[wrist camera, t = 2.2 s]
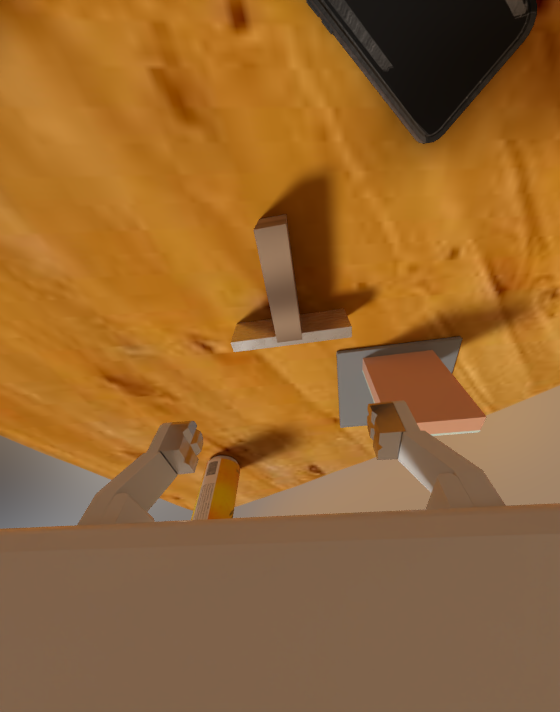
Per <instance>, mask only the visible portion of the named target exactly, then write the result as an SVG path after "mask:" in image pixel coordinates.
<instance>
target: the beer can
mask: <svg viewBox="0 0 560 712" xmlns="http://www.w3.org/2000/svg"><path fill="white" fill-rule="evenodd" d="M239 474H240V466H239V465H238V463H237V461H236V460H235V459H233V458H232V457H229V456H215V457H213V458H212V459H211V460H210V461H208V462H207V464H206V467H205V471H204V474H203V478H202V482H201V485H200V489H199V493H198V496H197V500H196V504H195V507H194V511H193V515H192V518H191V520H207V519H229V518H233V512H234V506H235V499H236V493H237V487H238V480H239Z"/></svg>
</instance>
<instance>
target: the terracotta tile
mask: <svg viewBox="0 0 560 712" xmlns="http://www.w3.org/2000/svg"><path fill="white" fill-rule="evenodd" d="M362 372H363V374H364V377H365V380H366V382H367V385H368V388H369V390H370V393H371V396H372V398H373V401H374V403H381V402H392V401H402V400H404V401H405V402H406V404H407V405H408V407H409V409H410V411H411V413H412V415H413V417H414V419H415V421H416V423H417V425H418V427H419V428H420V430H421V431H426V432H427V433H429V434H430V435H432V436H438V435H450V434H462V433H475V432H480V430H481V428H482V425H483V424H484V421H485V419H486V416H485V414H484V413H483V412H482V411H481V409H480V408H479V407H478V406H477V404H476V403H475V402H474V401H473V399H472V398H471V397H470V396H469V395H468V393H467V392H466V391H465V390H464V388H463V387H462V386H461V385H460V383H459V382H458V381H457V380H456V378H455V377H454V376H453V375H452V373H451V372H450V371H449V370H448V368H447V367H446V366H445V365H444V363H443V362H442V361H441V360H440V358H439V357H438V356H437V355H436V353H435V352H434V351H433V350H427V351H419V352H410V353H402V354H393V355H385V356H376V357H368V358H363V367H362Z"/></svg>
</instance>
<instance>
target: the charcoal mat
mask: <svg viewBox="0 0 560 712" xmlns="http://www.w3.org/2000/svg"><path fill="white" fill-rule="evenodd" d="M461 341H462V338H461V337H460V336H459V337H451V338H442V339H434V340H426V341H418V342H410V343H401V344H393V345H385V346H377V347H369V348H361V349H352V350H344V351H337V370H338V391H339V413H340V427H341V428H342V427H353V426H365V425H367V416H368V415H369V413H368V410H367V407H368V404H372V403H374V401H373V398H372V396H371V393H370V390H369V388H368V385H367V382H366V380H365V377H364V374H363V372H362V367H363V358H368V357H376V356H385V355H393V354H402V353H410V352H419V351H427V350H433V351H434V352H435V353H436V355H437V356H438V357H439V358H440V360H441V361H442V362H443V363H444V365H445V366H446V367H447V368H448V370H449V371H450V372H451V373H452V371H453V368H454V365H455V361H456V358H457V355H458V351H459V348H460V345H461Z"/></svg>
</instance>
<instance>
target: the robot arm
mask: <svg viewBox="0 0 560 712" xmlns="http://www.w3.org/2000/svg"><path fill="white" fill-rule="evenodd" d="M367 410H368V413H369V415H368V416H367V426H368V431H369V435H370V438H372V439H373V448H374V451H375V454H376V457H377V460H386V459H398V460H399V462H400V463H401V464H402V465H404V466H405V467H406V468H407V469H408V470H409V471H410V472H411V473H412V474H413V475H414V476H415V477H416V478H417V479H418V480H419V481H420V482H421V483H422V484H423V485H424V486H425V487H426V488H427V489H428V490H429V491H430V492H431V496H430V499H429V501H428V504H427V507H426V509H425V510H404V511H382V512H363V513H362V512H360V513H338V514H316V515H296V516H295V515H294V516H272V517H251V518H229V519H207V520H186V521H164V522H154V518H153V517H152V516H151V515H149V514H148V513H147V512H148V510H149V509H150V508H151V507H152V505H153V504H154V503H155V502H156V501H157V499H158V498H159V497H160V496H161V495H162V493H163V492H164V491H165V490H166V489H167V487H168V486H169V485H170V484H171V483H172V481H173V480H174V479H175V478H176V477H177V474H186V473H194V472H195V469H196V466H197V463H198V457H197V455H198V454H199V453H200V452H201V450H202V446H203V437H202V434H201V432H200V431H199V430H197V429H196V427H197V425H196V423H195V422H194V421H185V422H172V423H163V424H162V425H161V426H160V427H159V429H158V431H157V433H156V435H155V437H154V439H153V441H152V443H151V445H150V447H149V449H148V451H147V453H143V454H142V455H141V456H140V457H139V458H137V459H136V460H135V461H134V462H133V463H132V464H130V465H129V466H128V467H127V468H126V469H124V470H123V471H122V472H121V473H120V474H119V475H117V476H116V477H115V478H114V479H113V480H112V481H111V482H109V483H108V484H107V485H106V486H105V487H104V488H102V489H101V490H100V491H99V492H98V493H97V494H96V495H95V497H94V498H93V500H92V502H91V503H90V505H89V506H88V508H87V510H86V511H85V513H84V515H83V516H82V518H81V520H80V521H79V523H78V525H77V526H55V527H32V528H9V529H0V712H560V503H558V504H557V503H555V504H534V505H511V506H506V505H505V504H504V502H503V501H502V499H501V497H500V496H499V494H498V493H497V492H496V490H495V488H494V487H493V485H492V484H491V482H490V481H489V479H488V478H487V476H486V475H485V473H484V471H483V470H482V469H480V468H479V467H477V466H476V465H474V464H473V463H471V462H470V461H468V460H467V459H465V458H464V457H463V456H461V455H459V454H458V453H457V452H455V451H454V450H452V449H451V448H449V447H448V446H446V445H445V444H443V443H442V442H441V441H439V440H437V439H436V438H435V437H433V436H432V435H430V434H429V433H427V432H426V431H421V430H420V428H419V427H418V425H417V423H416V421H415V419H414V417H413V415H412V413H411V411H410V409H409V407H408V405H407V404H406V402H405V401H404V400H402V401H392V402H381V403H372V404H368V407H367Z"/></svg>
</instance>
